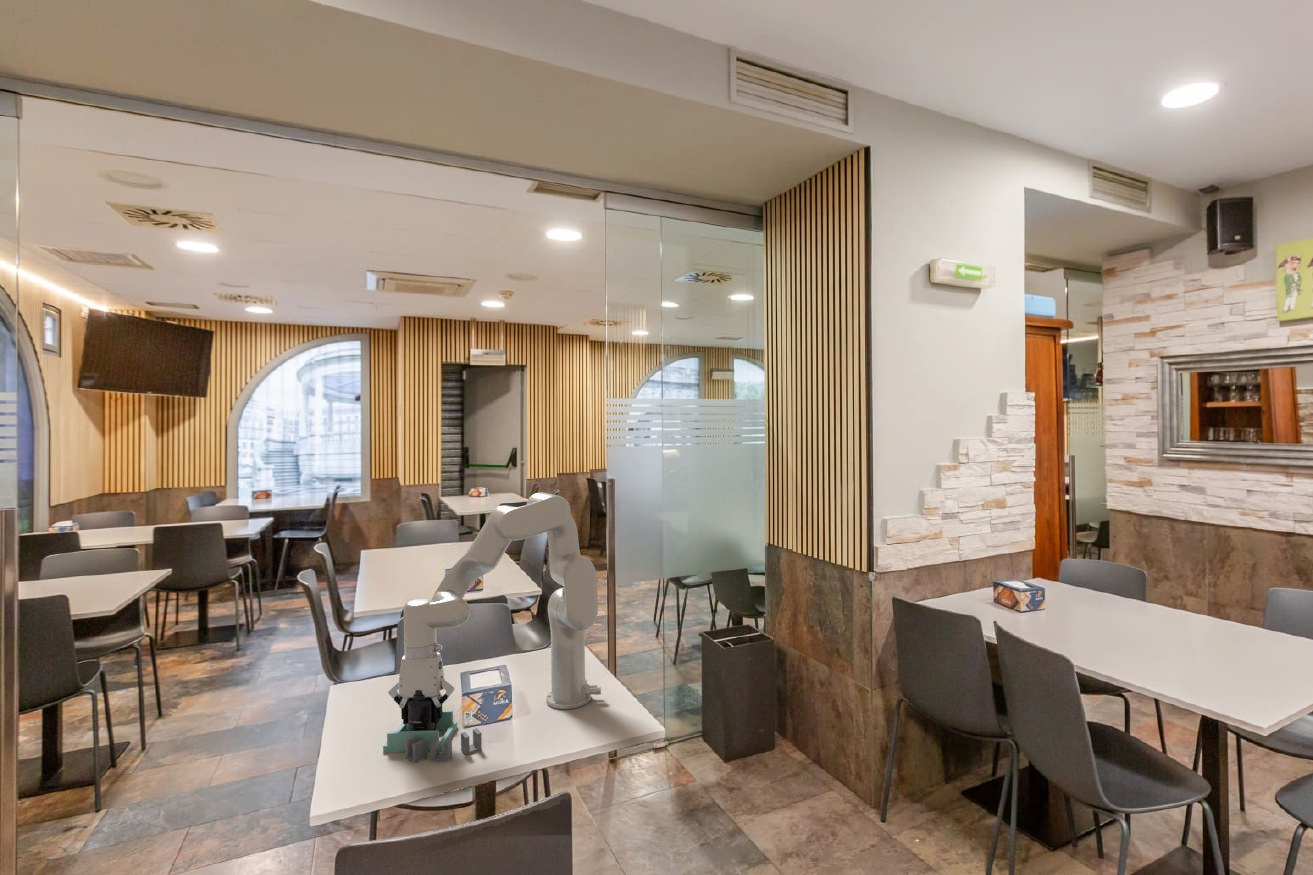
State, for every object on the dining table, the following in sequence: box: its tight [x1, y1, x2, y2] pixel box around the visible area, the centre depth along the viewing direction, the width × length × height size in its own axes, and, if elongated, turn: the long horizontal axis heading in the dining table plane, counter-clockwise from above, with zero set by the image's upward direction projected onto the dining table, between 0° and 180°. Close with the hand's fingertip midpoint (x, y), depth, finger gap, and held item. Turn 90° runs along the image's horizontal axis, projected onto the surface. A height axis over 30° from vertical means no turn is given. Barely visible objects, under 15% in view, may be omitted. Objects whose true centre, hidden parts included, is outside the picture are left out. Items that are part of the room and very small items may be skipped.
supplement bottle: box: [406, 690, 436, 731], centre depth 154 cm, size 7×7×12 cm
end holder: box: [382, 709, 458, 753], centre depth 154 cm, size 14×12×4 cm
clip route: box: [405, 727, 483, 764], centre depth 146 cm, size 17×8×4 cm, turn 91°
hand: (422, 720), depth 154 cm, fingers closed on supplement bottle, 6 cm apart
